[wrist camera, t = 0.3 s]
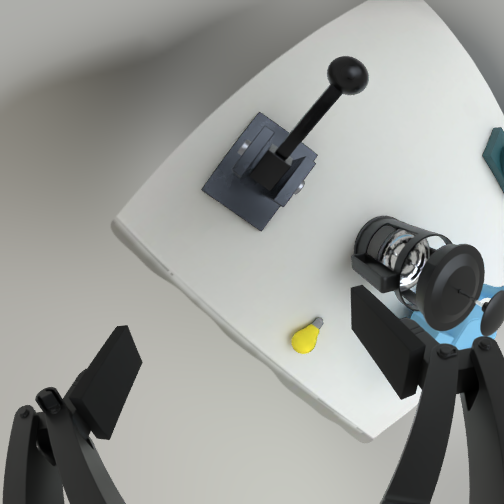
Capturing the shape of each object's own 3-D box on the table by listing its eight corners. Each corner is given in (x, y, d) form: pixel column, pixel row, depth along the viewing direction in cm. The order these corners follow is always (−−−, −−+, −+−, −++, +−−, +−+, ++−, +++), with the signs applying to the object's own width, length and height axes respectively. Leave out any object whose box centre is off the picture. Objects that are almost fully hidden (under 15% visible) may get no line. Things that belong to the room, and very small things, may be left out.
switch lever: (341, 50, 17) (345, 45, 15) (372, 75, 18) (381, 75, 15) (250, 162, 24) (242, 174, 22) (279, 183, 25) (274, 197, 22)
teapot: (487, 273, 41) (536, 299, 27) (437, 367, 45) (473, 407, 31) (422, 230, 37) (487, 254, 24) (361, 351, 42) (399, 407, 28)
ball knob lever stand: (258, 113, 32) (272, 76, 19) (315, 155, 34) (360, 144, 21) (202, 189, 34) (181, 195, 21) (260, 230, 36) (274, 260, 23)
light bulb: (285, 342, 41) (288, 346, 37) (310, 311, 41) (315, 312, 38) (302, 355, 40) (307, 360, 37) (327, 324, 41) (333, 326, 37)
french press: (410, 211, 37) (535, 249, 14) (411, 271, 39) (516, 340, 17) (340, 222, 36) (457, 280, 14) (344, 286, 39) (435, 388, 17)
